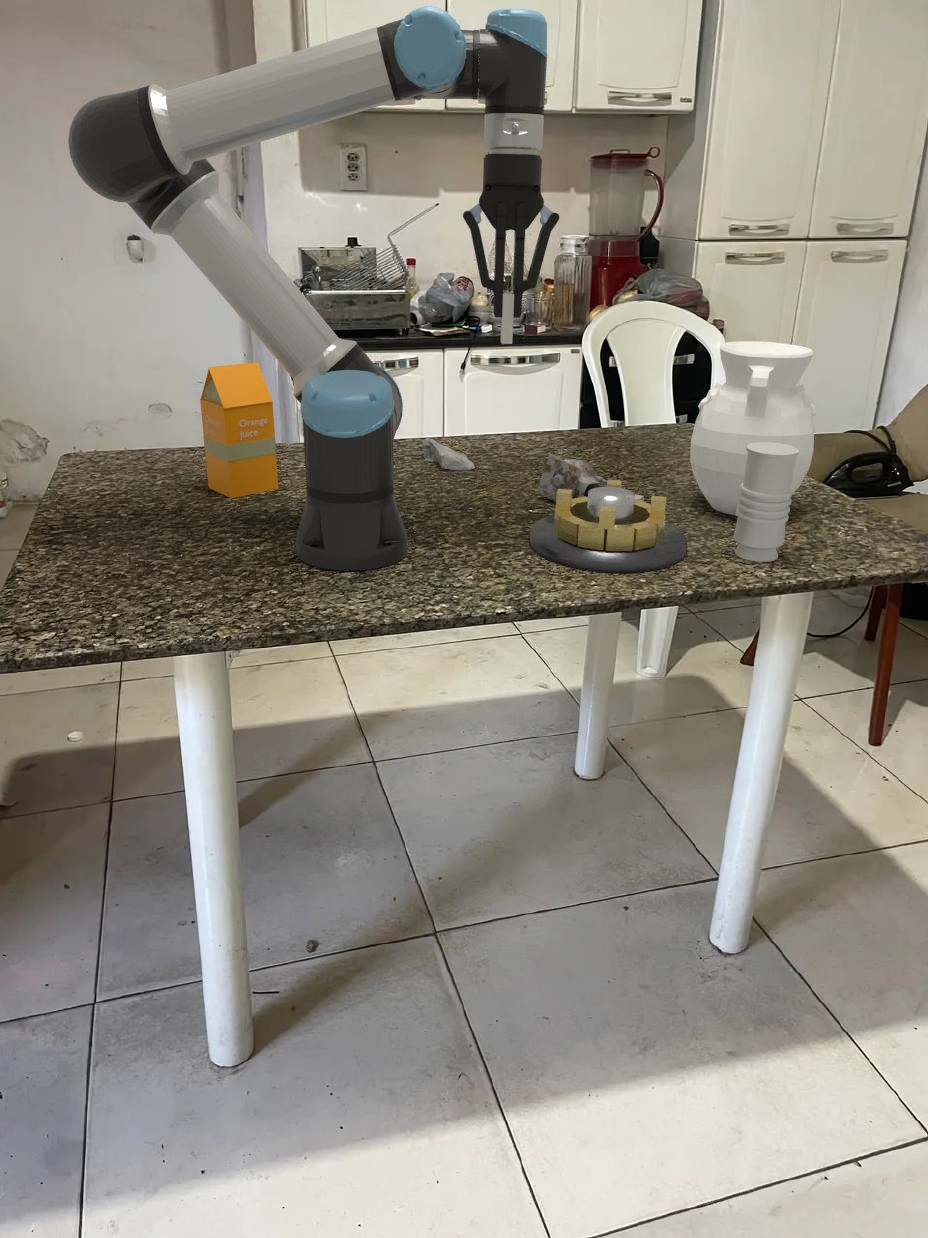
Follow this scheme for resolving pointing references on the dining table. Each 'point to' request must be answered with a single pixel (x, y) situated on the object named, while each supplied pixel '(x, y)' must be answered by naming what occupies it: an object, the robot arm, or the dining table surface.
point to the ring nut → (609, 523)
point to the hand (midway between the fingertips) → (506, 342)
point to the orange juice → (238, 431)
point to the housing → (604, 561)
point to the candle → (764, 500)
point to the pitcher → (751, 417)
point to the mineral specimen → (445, 456)
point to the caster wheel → (568, 478)
